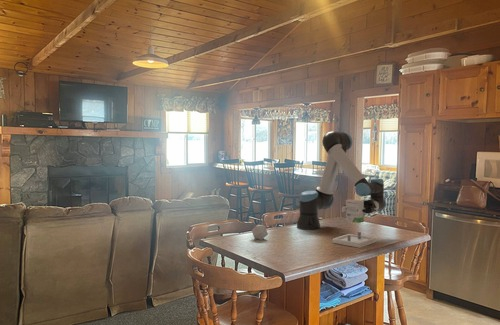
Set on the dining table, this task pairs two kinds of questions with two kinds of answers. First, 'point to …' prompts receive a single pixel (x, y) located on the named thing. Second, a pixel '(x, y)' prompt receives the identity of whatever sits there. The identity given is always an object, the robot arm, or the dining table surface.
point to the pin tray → (354, 240)
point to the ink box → (354, 211)
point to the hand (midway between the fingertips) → (350, 210)
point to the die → (259, 232)
